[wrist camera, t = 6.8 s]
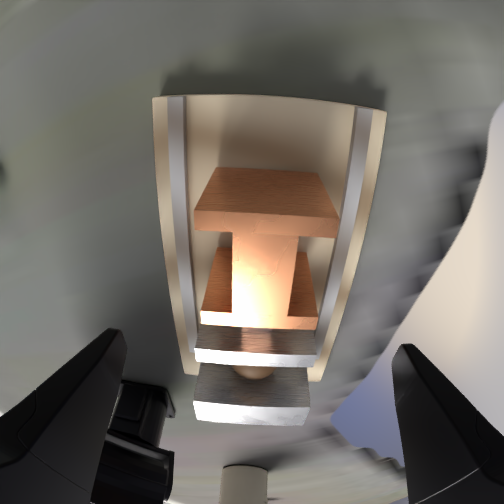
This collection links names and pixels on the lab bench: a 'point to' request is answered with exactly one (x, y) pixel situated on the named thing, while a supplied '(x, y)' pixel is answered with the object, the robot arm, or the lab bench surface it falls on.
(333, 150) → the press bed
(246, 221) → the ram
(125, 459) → the robot arm
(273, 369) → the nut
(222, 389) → the brushed steel block
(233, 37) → the lab bench surface
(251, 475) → the travel mug
